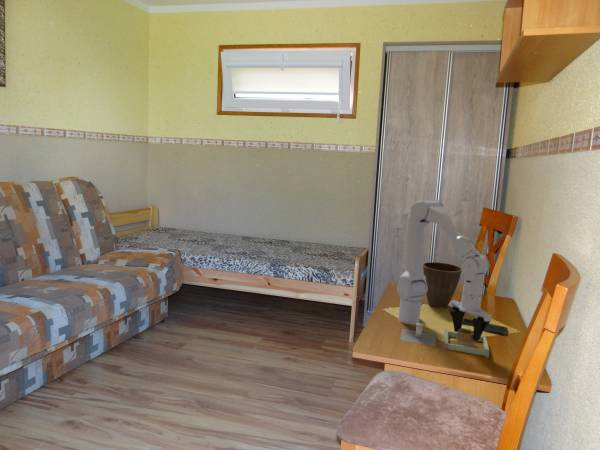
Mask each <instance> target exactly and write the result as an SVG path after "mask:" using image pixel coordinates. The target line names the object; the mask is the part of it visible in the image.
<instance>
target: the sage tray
mask: <svg viewBox="0 0 600 450" xmlns="http://www.w3.org/2000/svg"><path fill="white" fill-rule="evenodd" d="M457 333H458V332H455V331H454V330H446V329H445V330H444V350H451V351H455V352H461V353H462V352H463V353H467V354H472V355H480V356H484V357H485V358H486V359H489V356H490V348H489V344H488V341H487V337H486V336H484V335H481V337H480V340H478V341H477V342H480V343H482V345H483V348H479V347H475V348H474V347H468V346H462V345H457V344H456V343H449V337H450V338H456V339H457Z"/></svg>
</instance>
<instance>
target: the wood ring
mask: <svg viewBox="0 0 600 450" xmlns="http://www.w3.org/2000/svg"><path fill="white" fill-rule="evenodd" d="M473 332H474V329H470V328H464V327H463V328H462V327H461V329H458V333H457V338H456V343H455V344H456V345H462V346H468V347H474V348H476V347H475V346H476V341H474V340H473Z"/></svg>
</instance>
